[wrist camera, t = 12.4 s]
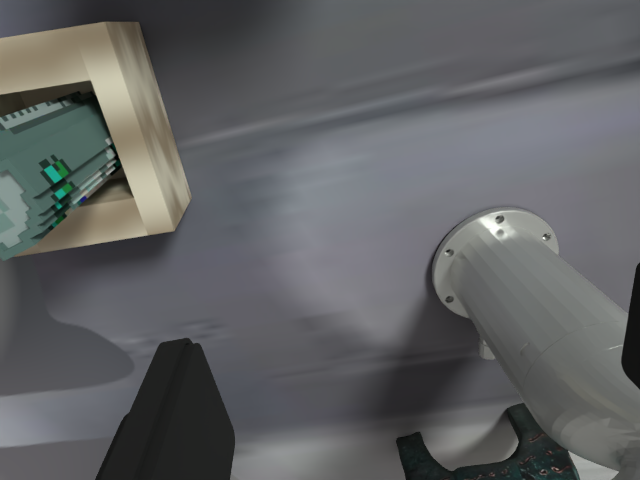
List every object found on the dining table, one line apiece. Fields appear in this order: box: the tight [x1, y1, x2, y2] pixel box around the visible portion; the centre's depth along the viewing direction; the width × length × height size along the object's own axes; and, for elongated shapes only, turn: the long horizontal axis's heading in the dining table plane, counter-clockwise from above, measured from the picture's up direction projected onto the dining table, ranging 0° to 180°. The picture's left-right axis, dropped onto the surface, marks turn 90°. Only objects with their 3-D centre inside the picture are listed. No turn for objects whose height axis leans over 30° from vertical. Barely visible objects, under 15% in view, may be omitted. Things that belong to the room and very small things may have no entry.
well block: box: [0, 22, 192, 257], centre depth 31 cm, size 14×12×7 cm
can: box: [0, 91, 123, 261], centre depth 27 cm, size 6×6×15 cm
